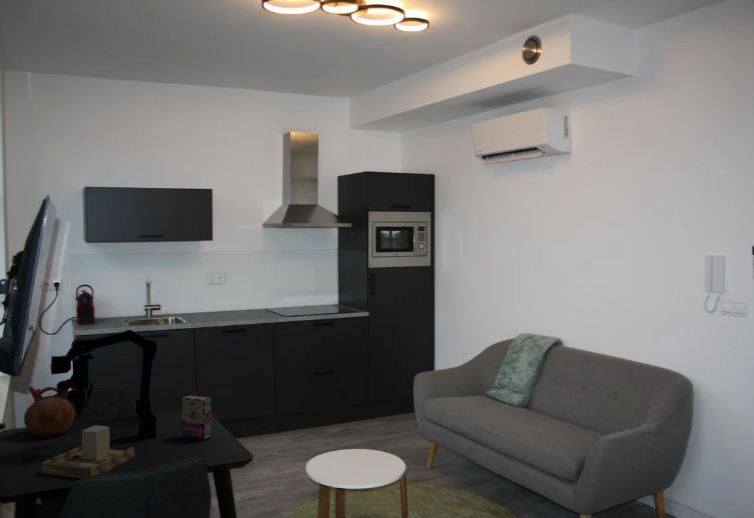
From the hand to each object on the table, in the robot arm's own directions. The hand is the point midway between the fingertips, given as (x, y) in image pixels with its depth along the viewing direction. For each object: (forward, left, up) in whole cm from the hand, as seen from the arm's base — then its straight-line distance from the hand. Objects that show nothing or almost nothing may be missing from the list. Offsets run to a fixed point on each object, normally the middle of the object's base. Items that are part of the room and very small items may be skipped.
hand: (82, 411), depth 253 cm
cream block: (-4, +21, -12) cm, 24 cm away
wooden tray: (-2, +23, -14) cm, 27 cm away
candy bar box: (-42, +6, -14) cm, 45 cm away
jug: (+12, -23, -14) cm, 29 cm away
